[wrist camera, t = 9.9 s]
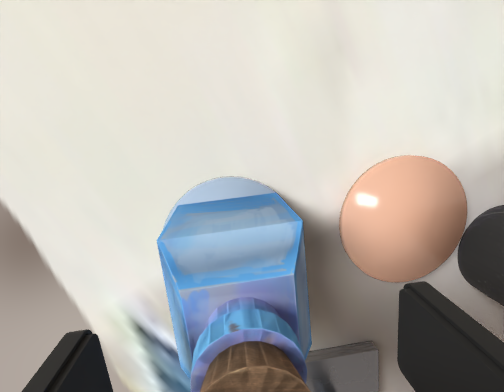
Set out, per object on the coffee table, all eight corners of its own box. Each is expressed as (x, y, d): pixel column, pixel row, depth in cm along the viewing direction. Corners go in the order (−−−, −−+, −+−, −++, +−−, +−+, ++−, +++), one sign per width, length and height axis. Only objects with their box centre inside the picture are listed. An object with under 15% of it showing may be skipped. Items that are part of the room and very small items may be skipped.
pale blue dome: (153, 183, 19) (149, 187, 18) (290, 167, 20) (294, 169, 18) (175, 307, 21) (173, 317, 20) (299, 288, 22) (303, 297, 20)
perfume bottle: (193, 294, 19) (152, 536, 8) (177, 205, 18) (101, 334, 6) (284, 280, 20) (373, 487, 8) (276, 192, 19) (369, 290, 7)
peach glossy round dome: (333, 162, 20) (340, 164, 19) (456, 147, 21) (470, 148, 19) (338, 282, 22) (345, 291, 21) (451, 265, 23) (463, 272, 21)
